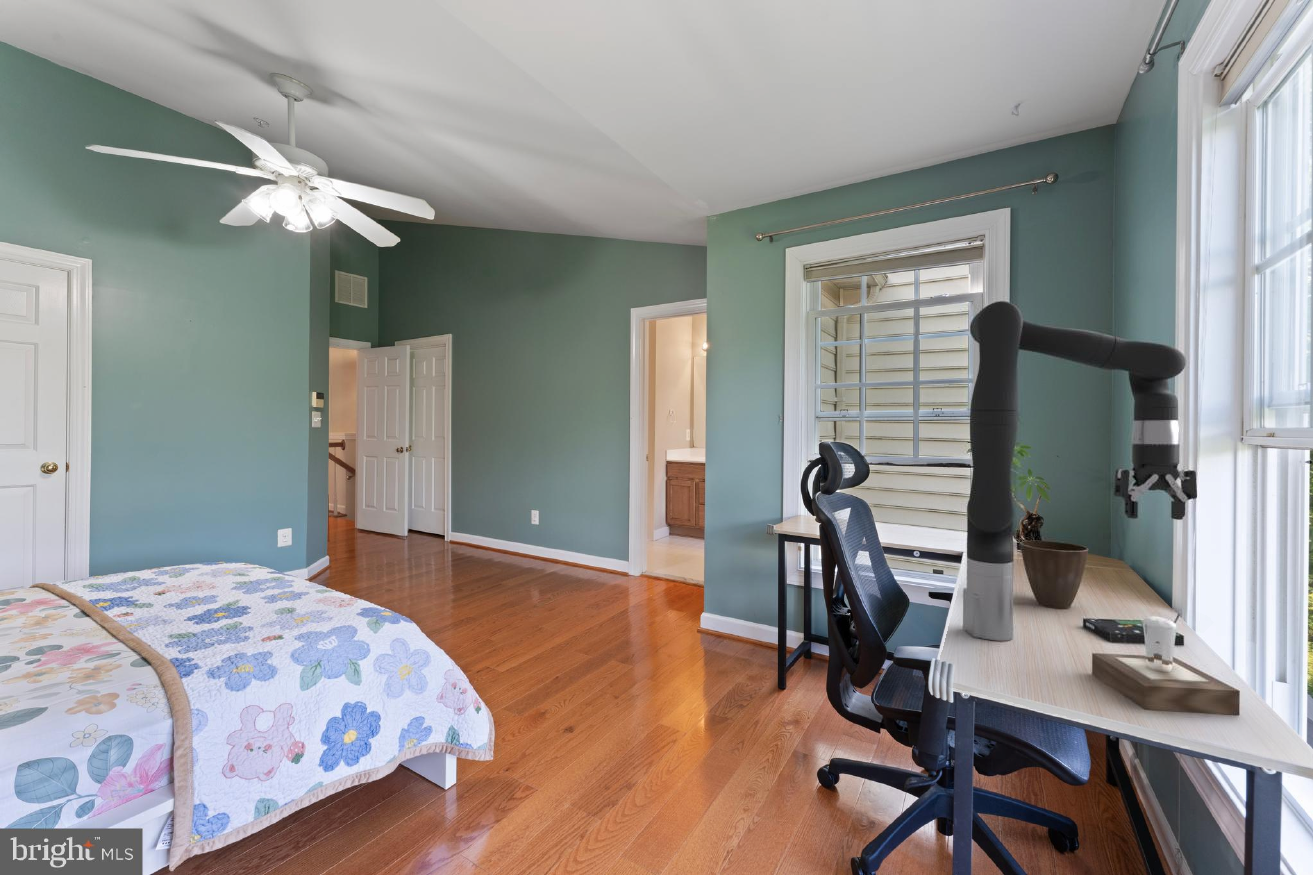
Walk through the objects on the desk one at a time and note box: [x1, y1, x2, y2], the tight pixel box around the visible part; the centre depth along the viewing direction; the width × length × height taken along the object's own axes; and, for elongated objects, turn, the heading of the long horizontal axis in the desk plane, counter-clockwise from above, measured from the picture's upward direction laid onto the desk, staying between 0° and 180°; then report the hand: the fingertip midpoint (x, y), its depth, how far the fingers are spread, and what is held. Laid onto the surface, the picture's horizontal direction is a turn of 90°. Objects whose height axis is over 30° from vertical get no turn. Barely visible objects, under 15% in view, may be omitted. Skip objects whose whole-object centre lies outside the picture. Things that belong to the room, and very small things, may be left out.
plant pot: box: [1020, 540, 1089, 610], centre depth 151 cm, size 15×15×16 cm
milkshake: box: [1142, 613, 1181, 672], centre depth 100 cm, size 4×5×10 cm
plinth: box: [1091, 652, 1241, 716], centre depth 100 cm, size 14×14×4 cm
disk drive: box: [1082, 617, 1185, 647], centre depth 128 cm, size 10×3×15 cm
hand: (1154, 518), depth 119 cm, fingers open, 8 cm apart
